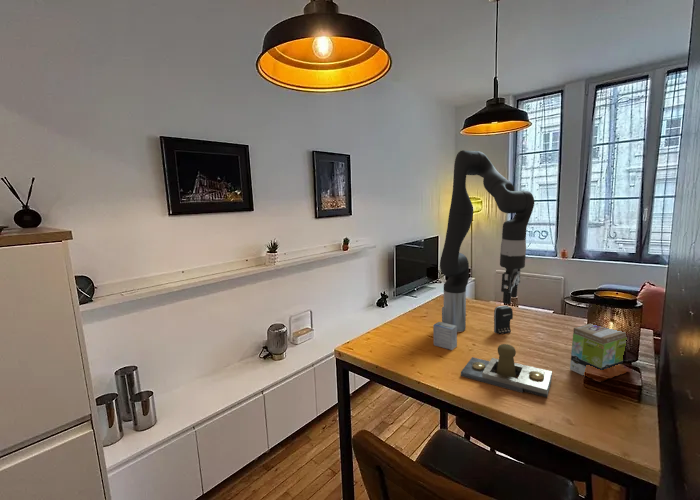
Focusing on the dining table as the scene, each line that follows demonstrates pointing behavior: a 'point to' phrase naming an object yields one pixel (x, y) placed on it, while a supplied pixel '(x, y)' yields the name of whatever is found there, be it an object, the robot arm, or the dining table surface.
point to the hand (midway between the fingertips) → (510, 300)
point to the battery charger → (502, 319)
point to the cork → (506, 360)
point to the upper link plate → (522, 378)
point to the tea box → (596, 347)
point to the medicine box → (445, 335)
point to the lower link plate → (476, 370)
